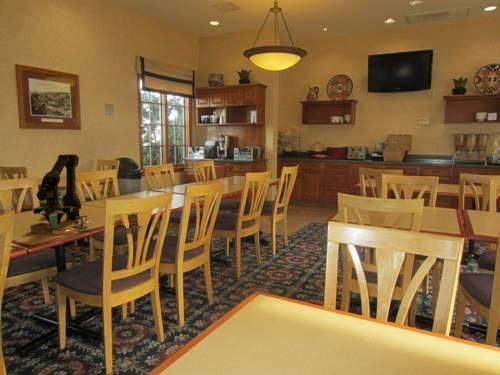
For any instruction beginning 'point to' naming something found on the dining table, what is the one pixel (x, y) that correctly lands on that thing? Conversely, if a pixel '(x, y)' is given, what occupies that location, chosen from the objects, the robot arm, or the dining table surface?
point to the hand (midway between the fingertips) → (54, 224)
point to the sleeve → (40, 228)
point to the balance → (81, 222)
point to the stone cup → (131, 218)
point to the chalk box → (59, 203)
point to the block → (54, 221)
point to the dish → (63, 231)
